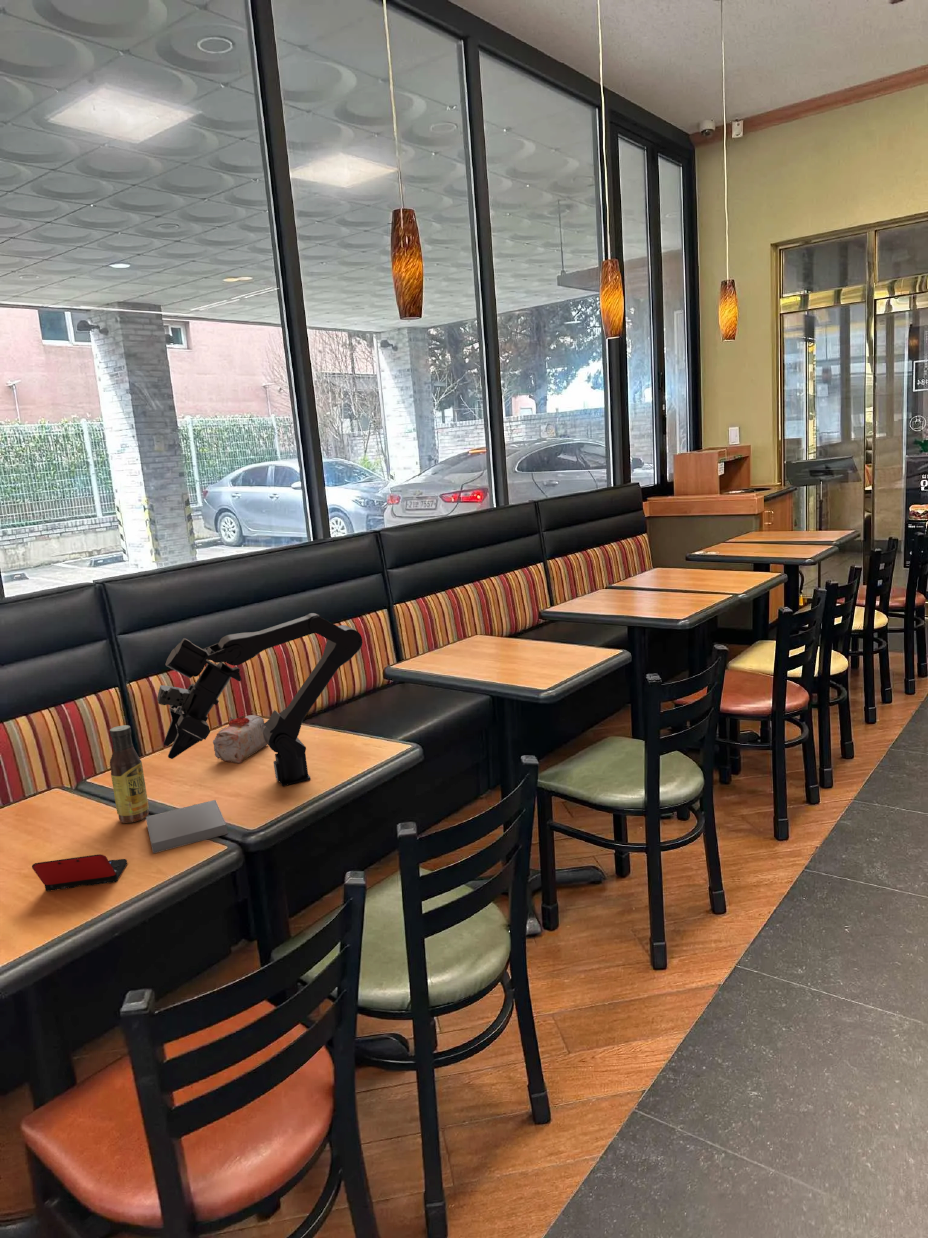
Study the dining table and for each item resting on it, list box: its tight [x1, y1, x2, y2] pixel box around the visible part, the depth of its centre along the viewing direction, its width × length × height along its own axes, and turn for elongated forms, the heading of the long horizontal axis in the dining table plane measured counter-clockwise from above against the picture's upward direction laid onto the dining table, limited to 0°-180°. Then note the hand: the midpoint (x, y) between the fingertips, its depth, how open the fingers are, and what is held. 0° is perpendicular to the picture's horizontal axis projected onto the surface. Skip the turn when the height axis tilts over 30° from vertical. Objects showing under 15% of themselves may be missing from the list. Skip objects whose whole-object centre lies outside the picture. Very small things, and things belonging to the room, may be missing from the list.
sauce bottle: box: [109, 724, 150, 824], centre depth 173 cm, size 7×6×20 cm
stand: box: [145, 799, 229, 854], centre depth 167 cm, size 14×14×2 cm
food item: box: [212, 714, 269, 764], centre depth 207 cm, size 14×8×10 cm, turn 160°
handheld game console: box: [31, 853, 128, 892], centre depth 149 cm, size 12×11×7 cm
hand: (167, 751), depth 176 cm, fingers open, 9 cm apart
